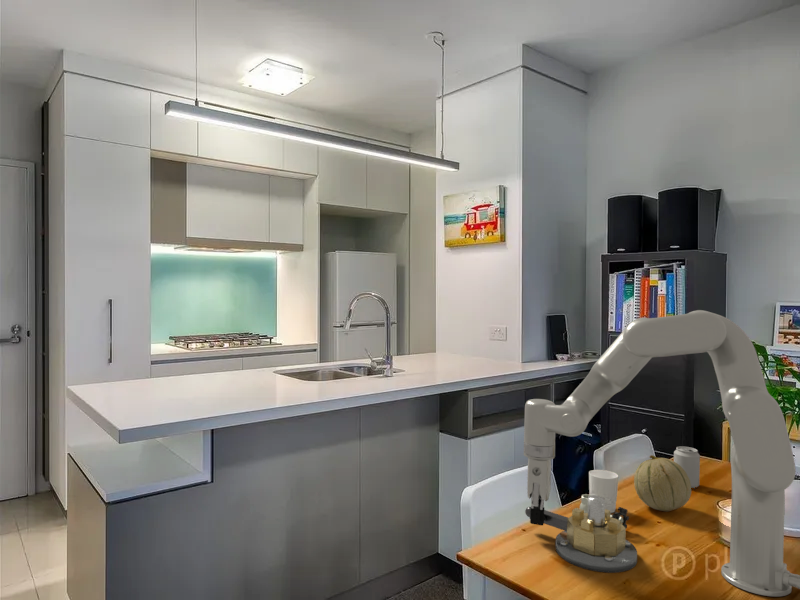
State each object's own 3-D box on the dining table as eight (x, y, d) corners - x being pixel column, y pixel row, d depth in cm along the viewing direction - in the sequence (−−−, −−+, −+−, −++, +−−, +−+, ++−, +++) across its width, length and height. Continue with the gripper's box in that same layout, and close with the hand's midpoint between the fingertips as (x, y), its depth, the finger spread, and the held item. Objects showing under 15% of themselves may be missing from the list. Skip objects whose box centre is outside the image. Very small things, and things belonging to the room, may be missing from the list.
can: (704, 489, 174) (704, 452, 174) (680, 489, 174) (681, 451, 174) (691, 481, 181) (692, 445, 181) (668, 481, 181) (669, 445, 181)
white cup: (582, 505, 159) (582, 471, 158) (603, 502, 162) (604, 468, 162) (602, 516, 151) (602, 480, 151) (623, 512, 154) (624, 476, 154)
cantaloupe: (694, 523, 148) (696, 467, 148) (635, 515, 152) (636, 461, 152) (685, 503, 162) (686, 452, 162) (631, 496, 166) (632, 447, 166)
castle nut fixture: (631, 544, 129) (632, 516, 129) (609, 561, 121) (610, 531, 121) (537, 513, 147) (538, 488, 147) (512, 526, 138) (513, 499, 138)
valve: (573, 521, 148) (615, 537, 138) (574, 496, 148) (615, 511, 138) (587, 515, 152) (628, 530, 143) (588, 491, 152) (629, 505, 142)
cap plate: (648, 553, 130) (649, 498, 130) (618, 581, 117) (619, 520, 116) (576, 530, 142) (577, 479, 142) (541, 553, 129) (542, 497, 129)
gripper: (552, 460, 128) (550, 538, 128) (557, 444, 142) (555, 514, 142) (519, 456, 131) (517, 532, 131) (527, 440, 145) (525, 510, 145)
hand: (537, 523), depth 137 cm, fingers closed
